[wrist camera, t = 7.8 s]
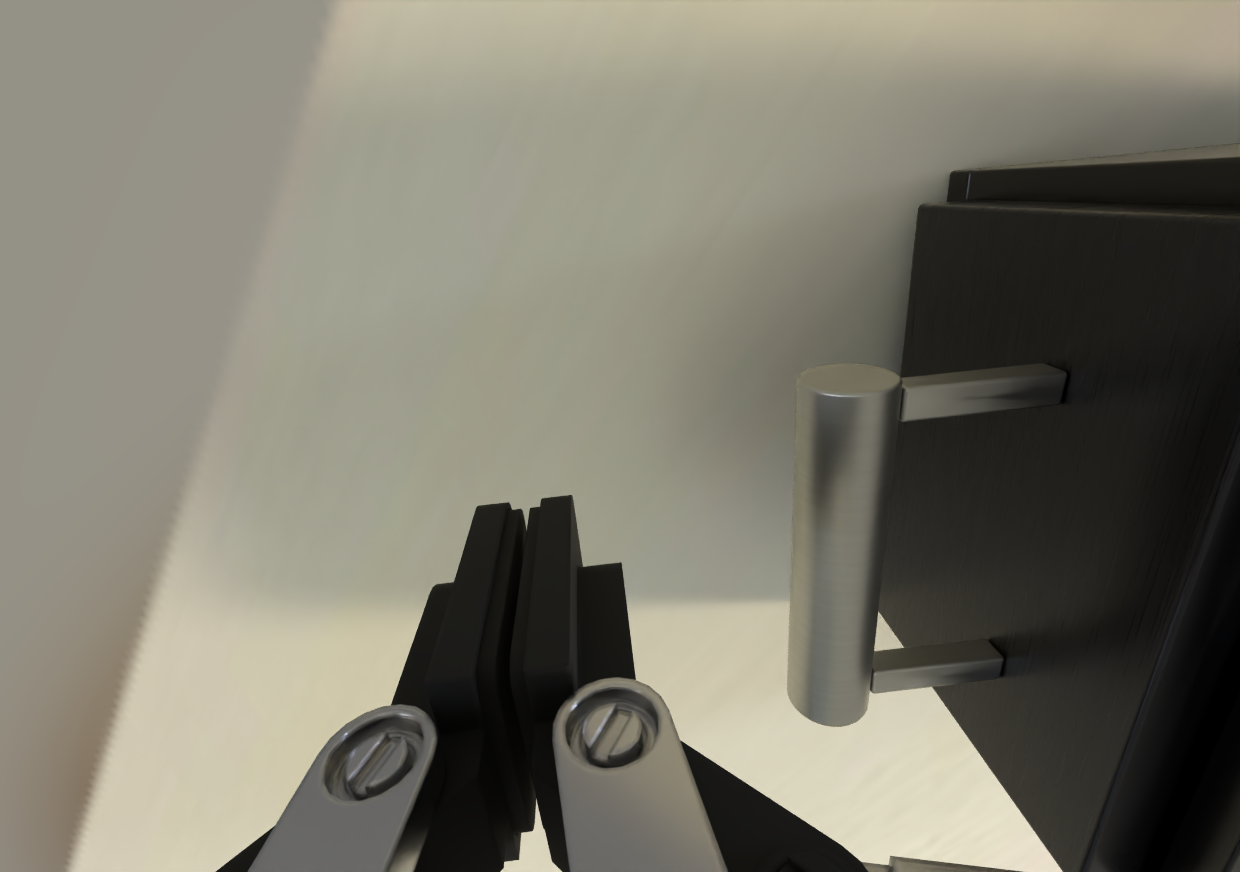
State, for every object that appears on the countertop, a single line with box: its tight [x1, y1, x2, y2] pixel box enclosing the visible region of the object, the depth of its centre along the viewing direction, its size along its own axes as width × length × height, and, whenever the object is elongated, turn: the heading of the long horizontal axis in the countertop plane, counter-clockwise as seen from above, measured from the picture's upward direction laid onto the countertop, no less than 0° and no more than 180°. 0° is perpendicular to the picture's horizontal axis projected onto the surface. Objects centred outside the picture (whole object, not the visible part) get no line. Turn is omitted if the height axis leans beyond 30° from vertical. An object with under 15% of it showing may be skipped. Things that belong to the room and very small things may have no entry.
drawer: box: [787, 200, 1240, 872], centre depth 12 cm, size 18×11×8 cm, turn 95°
